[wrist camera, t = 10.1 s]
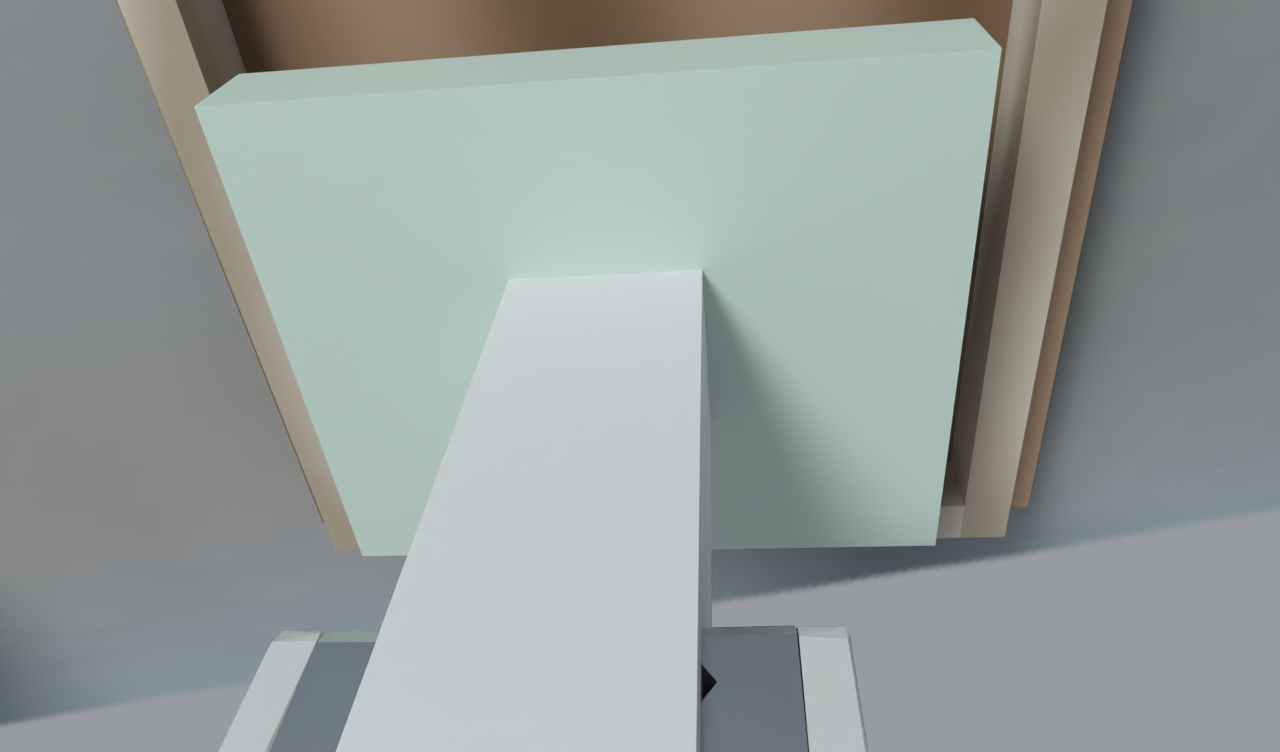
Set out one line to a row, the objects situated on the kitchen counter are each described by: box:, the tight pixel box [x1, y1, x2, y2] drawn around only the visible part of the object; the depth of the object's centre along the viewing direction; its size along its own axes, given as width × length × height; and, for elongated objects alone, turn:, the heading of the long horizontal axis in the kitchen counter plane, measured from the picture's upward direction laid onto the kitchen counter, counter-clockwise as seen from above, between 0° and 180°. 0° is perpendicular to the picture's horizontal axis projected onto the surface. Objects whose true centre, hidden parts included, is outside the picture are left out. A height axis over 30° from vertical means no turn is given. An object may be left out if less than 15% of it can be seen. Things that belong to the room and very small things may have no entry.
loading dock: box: [116, 0, 1133, 550], centre depth 18 cm, size 18×19×4 cm
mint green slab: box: [194, 18, 1002, 752], centre depth 12 cm, size 11×9×13 cm
